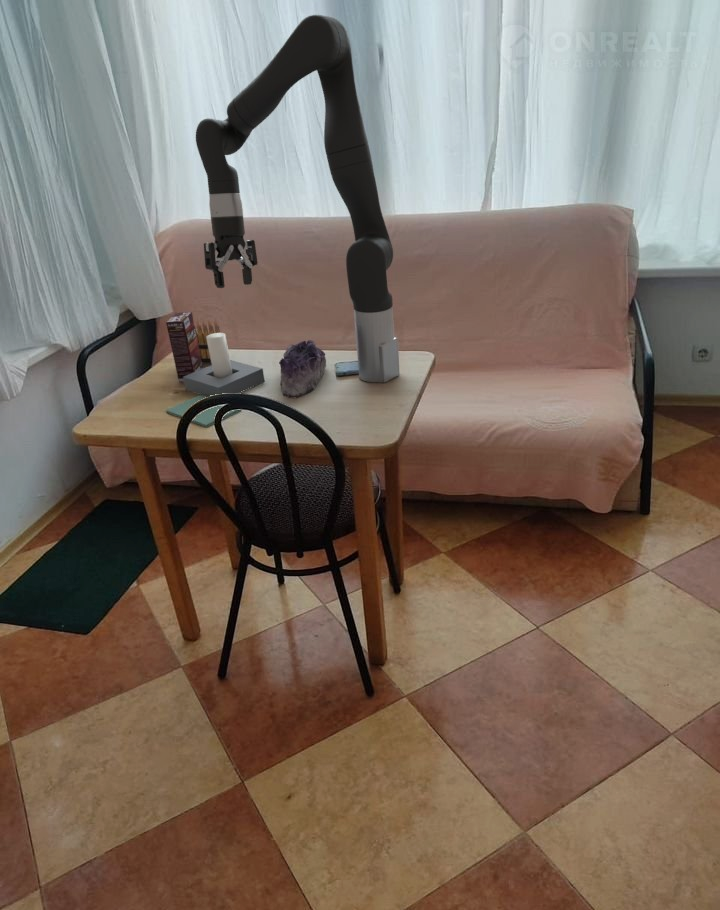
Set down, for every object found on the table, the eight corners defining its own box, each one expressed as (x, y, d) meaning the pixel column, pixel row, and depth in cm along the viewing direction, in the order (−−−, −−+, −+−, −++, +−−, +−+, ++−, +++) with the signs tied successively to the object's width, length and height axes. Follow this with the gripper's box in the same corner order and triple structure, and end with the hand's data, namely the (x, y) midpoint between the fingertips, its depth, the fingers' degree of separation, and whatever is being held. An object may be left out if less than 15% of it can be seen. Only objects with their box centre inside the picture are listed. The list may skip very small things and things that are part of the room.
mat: (241, 410, 144) (240, 408, 144) (206, 427, 138) (205, 424, 137) (201, 397, 153) (200, 394, 153) (166, 412, 146) (165, 410, 146)
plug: (238, 384, 159) (229, 334, 152) (224, 390, 156) (214, 340, 149) (226, 380, 161) (217, 331, 155) (212, 387, 158) (202, 337, 152)
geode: (323, 397, 147) (312, 358, 142) (276, 405, 149) (264, 367, 145) (333, 363, 165) (324, 327, 160) (291, 370, 167) (280, 335, 162)
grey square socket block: (264, 381, 159) (262, 368, 157) (221, 401, 150) (218, 387, 148) (229, 371, 167) (226, 359, 165) (185, 389, 158) (182, 376, 156)
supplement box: (196, 381, 163) (183, 321, 155) (178, 382, 163) (164, 322, 155) (204, 369, 170) (192, 311, 163) (187, 370, 171) (174, 312, 163)
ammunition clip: (190, 362, 176) (181, 320, 170) (193, 360, 178) (184, 318, 172) (225, 363, 173) (217, 320, 168) (228, 360, 175) (220, 318, 169)
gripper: (212, 215, 141) (221, 289, 146) (260, 213, 151) (266, 283, 157) (192, 216, 145) (201, 288, 151) (239, 215, 155) (246, 282, 161)
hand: (234, 286), depth 154 cm, fingers open, 8 cm apart
